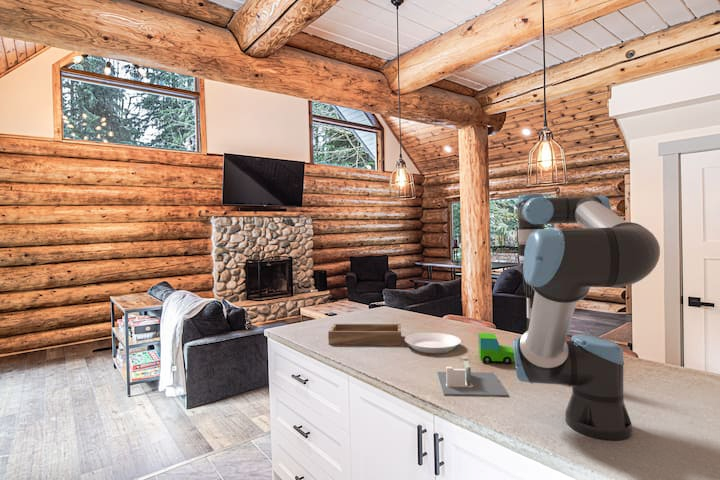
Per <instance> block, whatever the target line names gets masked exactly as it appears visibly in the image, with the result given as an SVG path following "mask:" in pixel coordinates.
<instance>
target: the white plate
mask: <svg viewBox="0 0 720 480" xmlns="http://www.w3.org/2000/svg"><path fill="white" fill-rule="evenodd" d="M404 341H405V343H407V344H408V345H409V346H410V347H411V348H412V349H413V350H414V351H417V352H421V353H424V354H425V353H426V354H444V353H445V354H446V353H449V352H452V351H453V350H454V349H455V348H456V347H457V346H458V345H459V344H460V343H461V342H462V340H461V339H460V338H459V337H458V336H455V335H454V334H453V335H452V334H449V333H442V332H419V333H418V332H417V333H413V334H410V335H407V336H405V338H404Z"/></svg>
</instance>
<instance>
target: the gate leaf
mask: <svg viewBox="0 0 720 480" xmlns="http://www.w3.org/2000/svg"><path fill="white" fill-rule="evenodd" d="M467 367H470V368H471V366H470V364H469V358H468V356H462V369H465V380H466V383H467Z"/></svg>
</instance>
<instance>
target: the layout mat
mask: <svg viewBox="0 0 720 480" xmlns="http://www.w3.org/2000/svg"><path fill="white" fill-rule="evenodd" d="M437 375H438V379H439V382H440V387H441V389H442V393H443V396H452V397H453V396H454V397H455V396H456V397H458V396H461V397H463V396H466V397H509V396H510V395H509V393H508V392H507V390H506V389H505V387H504V386H503V385H502V383H501V381H500V380H499V378H498V377H497V375H496V373H494V372H493V371H492V372H489V371H488V372H486V371H485V372H483V371H482V372H481V371H479V372H478V371H471V386H467V383H466V380H465V386H447V384H446V371H437Z"/></svg>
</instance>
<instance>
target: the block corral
mask: <svg viewBox="0 0 720 480" xmlns="http://www.w3.org/2000/svg"><path fill="white" fill-rule="evenodd" d="M327 333H328V335H327V336H328V340H327V341H328V345H329V344H333V345H341V346H342V345H343V346H345V345H348V346H350V345H354V346H355V345H357V346H360V345H361V346H363V345H364V346H365V345H366V346H368V345H370V346H402V324H401V323H333V325H331V327H330V328H329V331H328V332H327Z"/></svg>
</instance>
